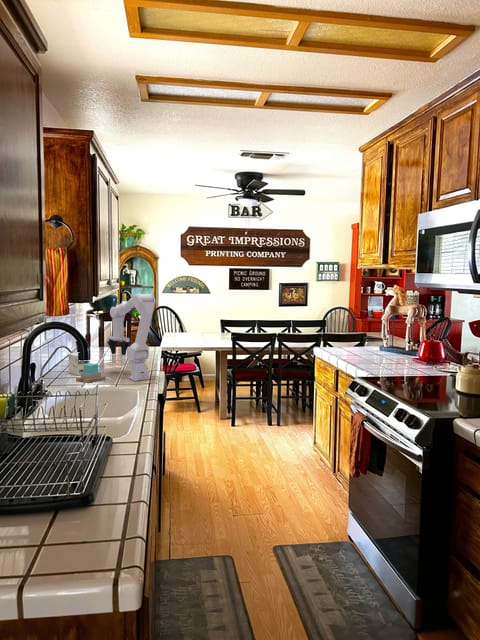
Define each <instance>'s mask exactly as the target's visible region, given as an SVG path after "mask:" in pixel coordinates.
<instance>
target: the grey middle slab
mask: <svg viewBox="0 0 480 640" xmlns="http://www.w3.org/2000/svg"><path fill="white" fill-rule="evenodd" d="M101 376H102V372H101V371H98V372H96V373H92V374H90V373H84V372H81V375H80V377H81V378H86V379H93V378H98V377H101Z"/></svg>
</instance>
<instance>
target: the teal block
mask: <svg viewBox="0 0 480 640" xmlns="http://www.w3.org/2000/svg"><path fill="white" fill-rule="evenodd" d="M83 366H84V373H90V374H92V373H96V372H99V363H90V362H89V364H85V365H83Z"/></svg>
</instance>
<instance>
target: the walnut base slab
mask: <svg viewBox="0 0 480 640" xmlns="http://www.w3.org/2000/svg"><path fill="white" fill-rule="evenodd" d="M102 380H103V381H106V376H103V375H101V377H98V378H93V379H86V378H81V376H78V377H75V381H76V382H78V383H85V384H89V383H91V384H94V383H93V382H95V383H97V382H96V381H99V382H103V381H102Z"/></svg>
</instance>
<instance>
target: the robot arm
mask: <svg viewBox="0 0 480 640" xmlns="http://www.w3.org/2000/svg"><path fill="white" fill-rule="evenodd" d="M131 296H132V297H131V298H130V299H128V301H126V300H122V301H121V303H120V304H117V305H116V306H111V308H110V310H109V315H110V317H111V318H112V320H111V321H112V336H107V341H106V344H107V345H108V346H109V347H108V348H109V349H110V353H111V355H114V354H116V352H117V344H118V342H119V345H120V352H121V353H120V354H121V355H122V356H126V357H127V359H128V360H129V362H130V372H131V376H128V379H130V380H132V381H134V382H137V381H145V380H146V381H147V380H150V379H151V377H149V368H148V367H149V366H148V365H147V363H146V362H147V361H148V358H149V357H150V351H149V350H150V347H149V345H148V344H147V340H148V335H149V331H150V327H151V323H152V318H153V313H154V310H155V305H156V299H155V296H154V294H153V293H135V294H133V295H131ZM133 307H135V309H136V311H137V312H138V313H140V318H139V323H138V326H137V332H136V335H135V336H136V337H135V340H134V342H133V343H132V344H131V345H130V343H131V342H130V337H126V336H124V335H125V333H124V332H125V330H124V321H125V316H126V314H128V313H129V312H131V311H132V308H133ZM128 347H129V349H128Z"/></svg>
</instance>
